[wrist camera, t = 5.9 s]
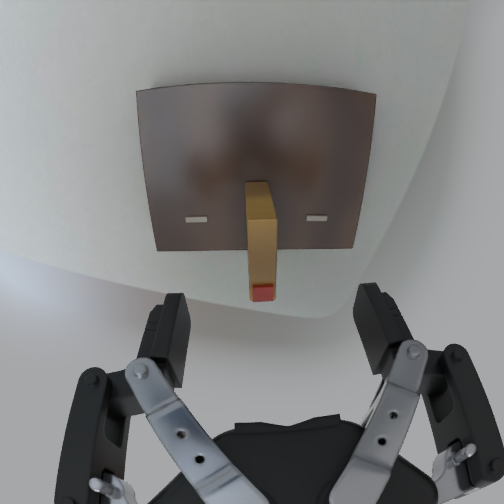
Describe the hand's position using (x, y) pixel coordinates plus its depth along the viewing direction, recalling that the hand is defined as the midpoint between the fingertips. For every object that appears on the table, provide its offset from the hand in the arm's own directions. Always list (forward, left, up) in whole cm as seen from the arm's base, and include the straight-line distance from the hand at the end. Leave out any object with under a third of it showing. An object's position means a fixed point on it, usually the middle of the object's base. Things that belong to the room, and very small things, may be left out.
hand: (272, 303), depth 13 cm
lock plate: (0, -4, -10) cm, 11 cm away
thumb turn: (0, -1, -7) cm, 7 cm away
